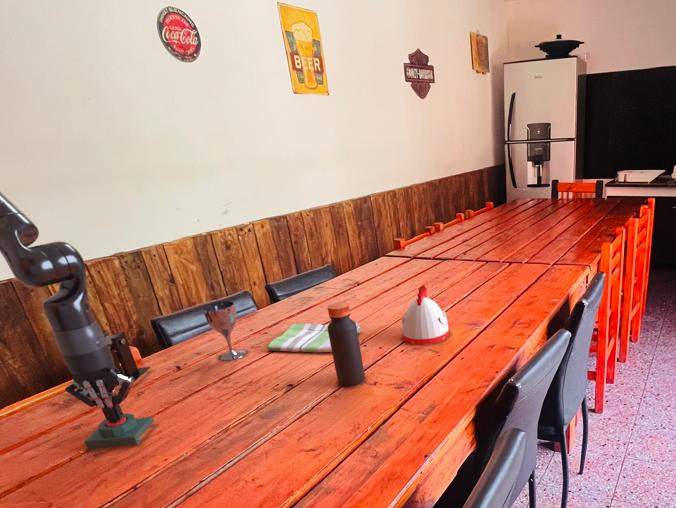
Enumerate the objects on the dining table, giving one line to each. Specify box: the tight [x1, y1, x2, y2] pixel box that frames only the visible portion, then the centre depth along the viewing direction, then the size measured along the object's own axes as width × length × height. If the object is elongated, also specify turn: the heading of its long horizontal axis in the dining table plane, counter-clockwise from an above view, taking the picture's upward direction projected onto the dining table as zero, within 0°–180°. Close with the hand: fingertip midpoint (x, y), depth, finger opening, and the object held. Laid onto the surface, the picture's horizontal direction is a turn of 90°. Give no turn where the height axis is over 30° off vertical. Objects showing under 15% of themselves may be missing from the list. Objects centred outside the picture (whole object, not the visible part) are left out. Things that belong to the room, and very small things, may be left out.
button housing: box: [83, 413, 155, 451], centre depth 109 cm, size 10×8×4 cm
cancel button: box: [106, 417, 126, 427], centre depth 109 cm, size 4×4×2 cm
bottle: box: [327, 301, 366, 387], centre depth 124 cm, size 7×7×20 cm
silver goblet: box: [202, 300, 247, 361], centre depth 144 cm, size 8×8×15 cm
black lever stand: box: [103, 331, 150, 387], centre depth 133 cm, size 10×8×13 cm
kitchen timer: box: [401, 284, 450, 346], centre depth 150 cm, size 14×14×15 cm
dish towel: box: [266, 321, 362, 353], centre depth 153 cm, size 17×23×4 cm
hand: (116, 420), depth 108 cm, fingers closed
